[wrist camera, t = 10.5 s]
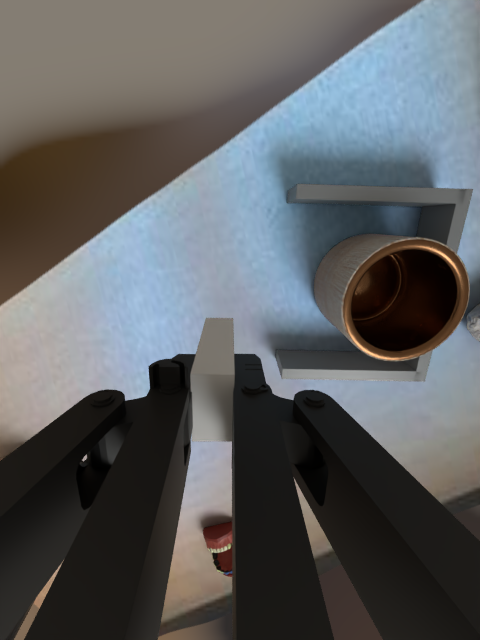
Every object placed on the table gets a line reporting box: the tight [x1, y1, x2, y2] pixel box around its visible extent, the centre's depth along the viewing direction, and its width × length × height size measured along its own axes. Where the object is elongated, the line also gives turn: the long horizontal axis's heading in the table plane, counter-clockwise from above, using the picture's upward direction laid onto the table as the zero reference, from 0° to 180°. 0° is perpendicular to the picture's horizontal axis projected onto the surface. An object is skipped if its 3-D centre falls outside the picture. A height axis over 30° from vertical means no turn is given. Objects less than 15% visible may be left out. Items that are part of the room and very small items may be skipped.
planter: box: [314, 233, 470, 361], centre depth 29 cm, size 11×11×10 cm
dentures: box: [203, 522, 232, 577], centre depth 44 cm, size 6×4×8 cm
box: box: [276, 184, 473, 382], centre depth 31 cm, size 16×19×5 cm
